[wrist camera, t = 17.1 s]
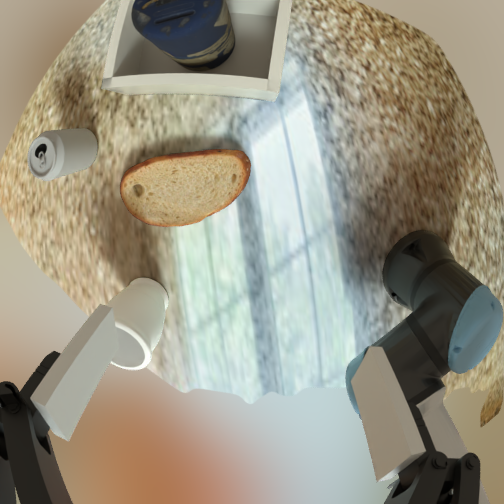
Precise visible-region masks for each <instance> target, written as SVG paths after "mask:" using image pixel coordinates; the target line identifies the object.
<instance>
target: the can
mask: <svg viewBox="0 0 504 504" xmlns="http://www.w3.org/2000/svg"><path fill="white" fill-rule="evenodd" d="M97 149H98V145H97V140H96V138H95V135H94V134H93V133H92V132H91V131H90V130H88V129H86V128H76V129H62V130H51V131H45V132H43V133H41V134H40V135H39V136H38V137H37V138H36V139H35V140H34V141H33V142H32V144H31V145H30V148H29V151H28V166H29V169H30V171H31V173H32V174H33V175H34V176H35V177H36V178H39V179H42V180H44V181H50V180H53V179H56V178H59V177H62V176H65V175H68V174H71V173H75V172H78V171H81V170H84V169H87V168H88V167H90V166H91V165H92V163H93V162H94V161H95V158H96V155H97Z"/></svg>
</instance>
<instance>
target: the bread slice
mask: <svg viewBox="0 0 504 504" xmlns="http://www.w3.org/2000/svg"><path fill="white" fill-rule="evenodd" d="M250 168H251V163H250V160H249V158H248V157H247V156H246V154H245V153H244V152H242V151H239V150H227V149H213V150H203V151H194V152H184V153H175V154H169V155H164V156H159V157H154V158H150V159H148V160H146V161H144V162H142V163H139V164H137V165H135V166H133V167H131V168H130V169H128V170H127V171H126V172H125V174H124V176H123V178H122V180H121V184H120V194H121V197H122V200H123V202H124V204H125V206H126V207H127V209H128V211H129V212H130V213H131V214H132V215H133V216H134V217H136V218H137V219H139V220H141V221H142V222H145V223H147V224H149V225H156V226H162V227H168V226H184V225H189V224H193V223H197V222H200V221H201V220H203V219H204V218H205V217H208V216H210V215H212V214H214V213H216V212H219V211H220V210H222V209H224V208H225V207H227V206H228V205H230V204H231V203H232V202H233V201H234V200H235V199H236V198H237V197H238V196H239V195H240V193H241V192H242V191H243V189H244V188H245V186H246V184H247V182H248V179H249V176H250Z"/></svg>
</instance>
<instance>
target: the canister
mask: <svg viewBox="0 0 504 504" xmlns="http://www.w3.org/2000/svg"><path fill="white" fill-rule="evenodd" d="M131 18H132V22H133V25H134V27H135V29H136V30H137V31H138V32H139V33H140V34H141V35H142V36H143V37H145V38H146V39H148V40H149V41H150V42H152V43H153V44H154V45H155V46H156V47H157V48H158V49H159V50H160V51H162V52H163V53H165V54H166V55H167V56H168V57H170V58H171V59H172V60H174V61H175V62H177V63H178V64H179V65H180V66H182V67H184V68H186V69H188V70H192V71H207V70H211V69H213V68H216V67H218V66H219V65H221V64H222V63H224V62H225V61H226V60H227V59H228V58H229V57H230V55H231V54H232V52H233V50H234V47H235V34H234V30H233V26H232V23H231V16H230V13H229V9H228V6H227V2H226V0H135V2H134V4H133V7H132V12H131Z"/></svg>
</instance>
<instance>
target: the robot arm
mask: <svg viewBox="0 0 504 504" xmlns="http://www.w3.org/2000/svg"><path fill="white" fill-rule="evenodd" d="M383 283H384V287H385V289H386V291H387V292H388V294H389V295H390V297H391V298H392V299H393V300H394V301H395V302H396V303H398V304H400V305H402V306H404V307H406V308H407V309H409V310H411V311H413V312H412V313H411V314H410V315H409V316H408V317H407V318H405V319H404V320H403V321H402V322H400V323H399V324H398V325H397V326H396V327H394V328H393V329H392V330H391V331H389V332H388V333H387V334H386V335H384V336H383V337H382V338H380V339H379V340H378V341H377V342H375V343H374V344H372V345H371V346H368V347H367V348H365V349H364V351H363V352H362V353H361V354H360V355H358V356H357V357H356V358H354V359H353V360H352V361H351V362H350V363H349V365H348V367H347V370H346V377H345V379H346V388H347V392H348V395H349V398H350V401H351V404H352V406H353V408H354V410H355V412H356V413H357V414H359V416H360V419H361V420H362V423H363V426H364V430H365V434H366V438H367V442H368V446H369V450H370V454H371V458H372V463H373V467H374V471H375V476H376V480H377V482H378V481H384V480H388V479H392V478H393V477H394V476H396V475H397V474H398V475H399V479H397V480H396V481H395V482H393V483H392V484H390V485H389V486H388V489H389V488H391V487H392V486H393V489H392V490H391V492H390V494H389V496H388V497H387V499H386V501H385V502H384V504H490V503H489V500H488V497H487V495H486V492H485V490H484V487H483V485H482V482H481V480H480V460H479V459H478V457H477V456H476V455H475V454H474V453H468V451H467V449H466V447H465V445H464V443H463V441H462V439H461V437H460V435H459V433H458V431H457V429H456V427H455V425H454V423H453V421H452V419H451V417H450V415H449V414H448V412H447V410H446V408H445V406H444V404H443V398H444V394H445V390H446V387H445V385H444V384H443V382H442V380H441V378H442V377H443V376H444V375H446V374H447V373H448V372H449V371H451V370H452V371H453V372H455V373H458V374H461V373H465V372H467V371H468V369H469V370H471V369H472V368H474V367H475V366H476V365H477V364H479V363H480V362H481V361H482V360H483V358H484V357H485V356H486V355H487V354H488V352H489V351H490V350H491V348H492V346H493V345H494V343H495V341H496V339H497V337H498V335H499V332H500V329H501V326H502V322H503V309H502V305H501V303H500V302H499V300H498V299H497V298H496V297H495V296H494V295H493V294H492V293H491V291H490V289H489V288H488V287H487V286H485V285H483V284H482V283H481V282H480V281H479V280H478V279H476V278H475V277H474V276H473V275H472V274H471V273H469V272H468V271H467V270H466V269H465V268H463V267H462V266H461V265H460V264H458V263H457V262H456V261H455V259H454V257H453V255H452V253H451V251H450V249H449V247H448V246H447V244H446V243H445V241H444V240H443V239H442V238H440V237H439V236H438V235H436V234H435V233H433V232H430V231H426V230H421V231H416V232H413V233H410V234H408V235H407V236H405V237H404V238H402V239H401V240H400V241H399V242H398V243H397V244H396V245H395V246H394V247H393V249H392V250H391V252H390V253H389V255H388V257H387V259H386V262H385V265H384V269H383ZM118 348H119V344H118V339H117V333H116V326H115V320H114V313H113V307H109V306H105V305H102V304H100V305H99V306H98V307H97V309H96V310H95V311H94V312H93V313H92V315H91V316H90V317H89V318H88V320H87V321H86V322H85V323H84V325H83V326H82V327H81V328H80V330H79V331H78V332H77V333H76V335H75V336H74V337H73V339H72V340H71V341H70V343H69V344H68V345H67V347H66V348H65V349H64V350H63V352H62V353H61V354H60V353H58V352H56V351H53V352H52V353H50V354H49V355H47V356H46V357H45V358H44V359H43V361H42V362H41V363H40V366H38V367H37V369H36V371H35V372H34V373H33V374H32V375H31V377H30V378H29V380H28V381H27V382H26V384H25V385H24V387H23V388H22V390H21V391H20V392H19V390H18V388H17V387H16V386H15V385H14V384H13V383H11V382H8V381H4V382H1V383H0V504H16V494H15V487H16V491H17V494H18V497H19V500H20V503H21V504H73V503H72V501H71V498H70V496H69V494H68V491H67V489H66V486H65V484H64V481H63V478H62V476H61V473H60V471H59V467H58V464H57V461H56V458H55V455H54V451H53V448H52V445H51V441H50V437H49V435H48V431H49V429H51V430H52V431H53V433H54V434H55V435H57V436H59V437H61V438H63V439H65V440H67V441H69V440H70V438H71V435H72V433H73V431H74V429H75V427H76V425H77V423H78V421H79V419H80V417H81V415H82V413H83V411H84V410H85V408H86V406H87V404H88V402H89V400H90V398H91V396H92V394H93V392H94V391H95V389H96V387H97V385H98V383H99V381H100V380H101V378H102V376H103V374H104V373H105V371H106V369H107V367H108V365H109V364H110V362H111V360H112V358H113V357H114V355H115V353H116V352H117V350H118Z"/></svg>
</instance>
